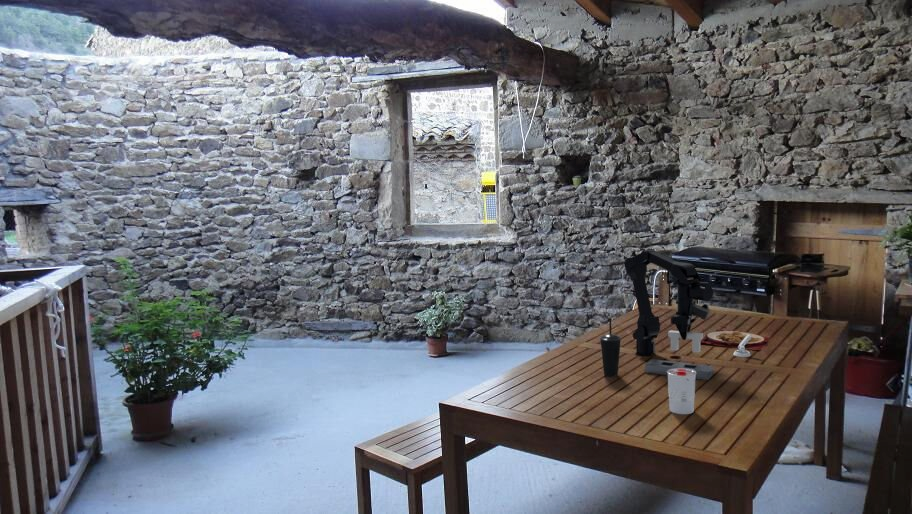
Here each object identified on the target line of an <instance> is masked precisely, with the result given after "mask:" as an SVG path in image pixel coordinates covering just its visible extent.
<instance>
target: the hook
mask: <svg viewBox="0 0 912 514" xmlns="http://www.w3.org/2000/svg"><path fill="white" fill-rule="evenodd" d="M750 338H751V336H750V335H749V334H748V335H747V336H746V337H745V338H744V339H743V341H742V342H741V343H740V344H739V346H738V348H737V349H736V350H734V352H733V356H735V357H740V358H748V357H751V352H750V351H749V350H745V349H746V348H745V347H744V346H745V344H746V343H747V342H748V341H749V340H750Z"/></svg>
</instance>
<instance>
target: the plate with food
mask: <svg viewBox="0 0 912 514" xmlns="http://www.w3.org/2000/svg"><path fill="white" fill-rule="evenodd" d="M720 327H721V328H722V329H720V330H719V329H718V328H716V330H715V331H714V330H713V331H710V332H707V333H706V334H705V336H703V339H702V340H701V344H705V345H711V346H720V347H725V348H726V349H728V348H732V349H738V346H739V344H740V343H741V342H742V341H743V339H744V338H745V337H746V336H747V335H748V334H749V335H750V336H751V338H750V340H749V341H748V342H747V343H746V344H745V346H744V347H745V351H749V350H750V351H762V348H763V347H764V348H765V347H766V346H768V345H769V343H768V342H770V343H771V342H772V341H773V340H770V338H769V337H767V336H764V337H763V336H762V335H759V334H756V333H750V332H745V331H744V332H743V331H741V330H738V329H733V330H732V329H729V330H728V329H727V326H724V325H720ZM725 329H727V330H725Z"/></svg>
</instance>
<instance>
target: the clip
mask: <svg viewBox="0 0 912 514" xmlns="http://www.w3.org/2000/svg"><path fill="white" fill-rule="evenodd" d="M667 333H668V334H667V336H668V338H670V351H678V350H679V349H680V344H679V343H680V341H679V340H680V339H682V337H681V335H680V333H679V331H678V330H671V329H670V330H669V331H668V332H667ZM703 338H704V333H703V332H692V331H690V332H687V336H686V340H691V341H692V342H691V343H692V344H691V351H692V353H696V354H697V353H698V354H699V353H701V350H702V349H701V344H702V342H701V340H702V339H703Z"/></svg>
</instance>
